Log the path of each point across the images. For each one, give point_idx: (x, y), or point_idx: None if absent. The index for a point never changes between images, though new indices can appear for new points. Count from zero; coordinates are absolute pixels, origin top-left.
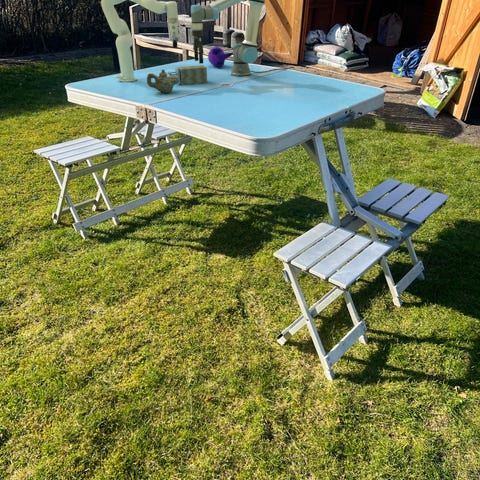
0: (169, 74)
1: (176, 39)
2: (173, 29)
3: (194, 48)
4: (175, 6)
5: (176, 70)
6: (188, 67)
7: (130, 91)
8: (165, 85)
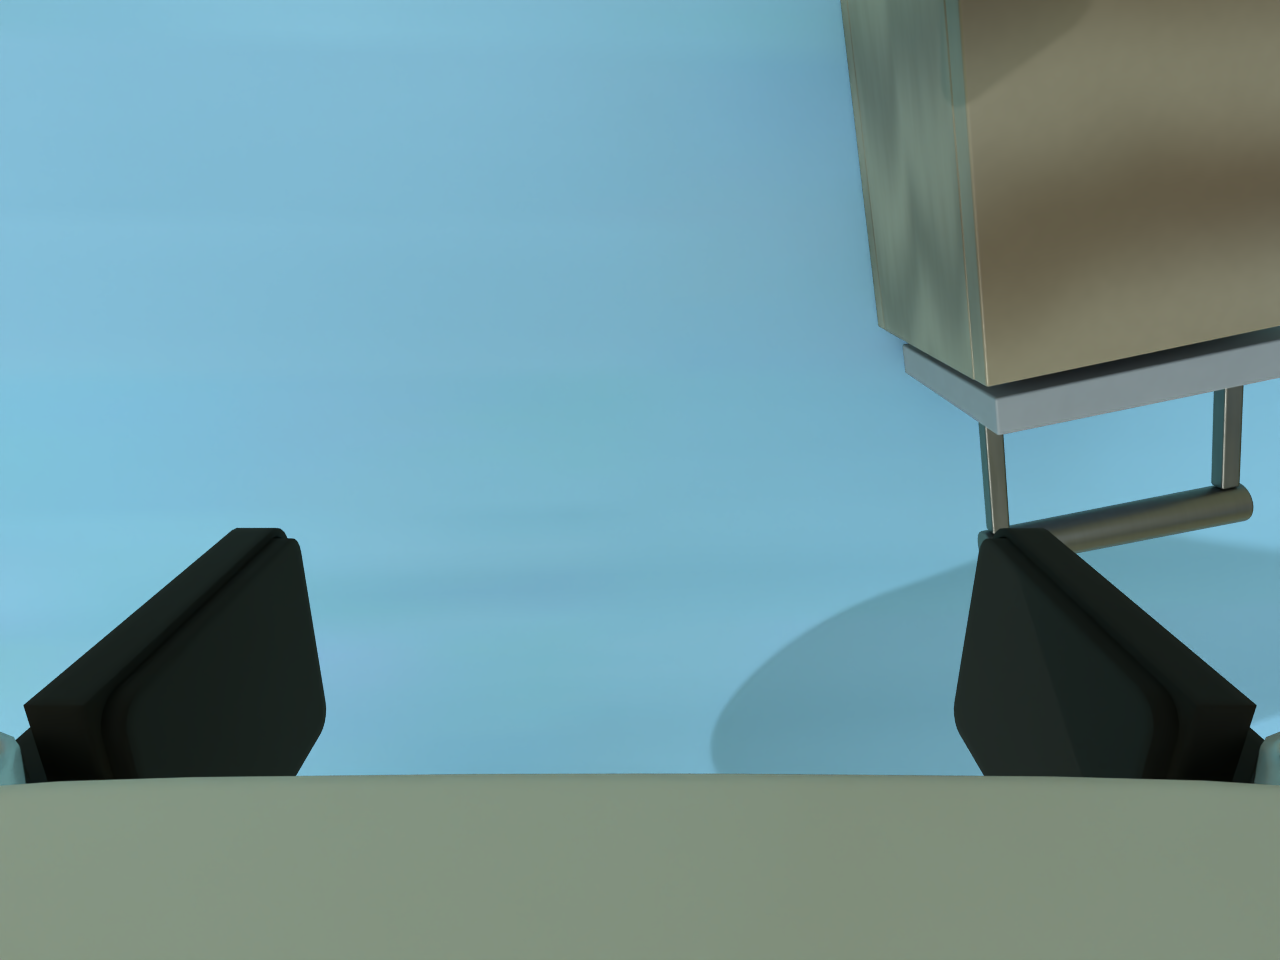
0: (1187, 530)
1: (20, 776)
2: None
3: None
4: None
5: (1149, 400)
6: (1170, 72)
7: None
8: None
